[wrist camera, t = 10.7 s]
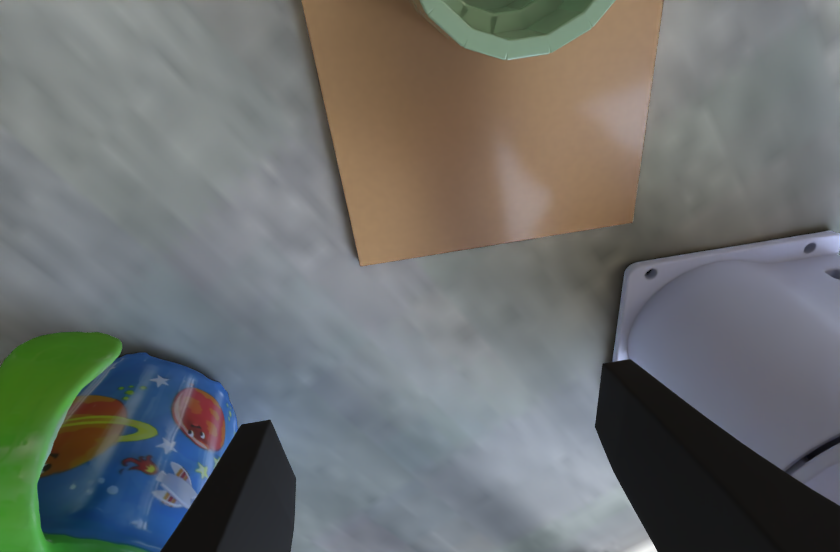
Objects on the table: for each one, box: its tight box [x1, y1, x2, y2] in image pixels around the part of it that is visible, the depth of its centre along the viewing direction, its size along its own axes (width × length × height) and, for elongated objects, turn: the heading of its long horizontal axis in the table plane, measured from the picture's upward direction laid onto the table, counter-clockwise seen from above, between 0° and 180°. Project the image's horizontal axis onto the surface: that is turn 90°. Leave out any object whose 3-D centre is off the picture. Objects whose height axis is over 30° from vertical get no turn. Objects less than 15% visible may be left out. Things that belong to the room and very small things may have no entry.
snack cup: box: [0, 332, 238, 552], centre depth 17 cm, size 16×10×10 cm
